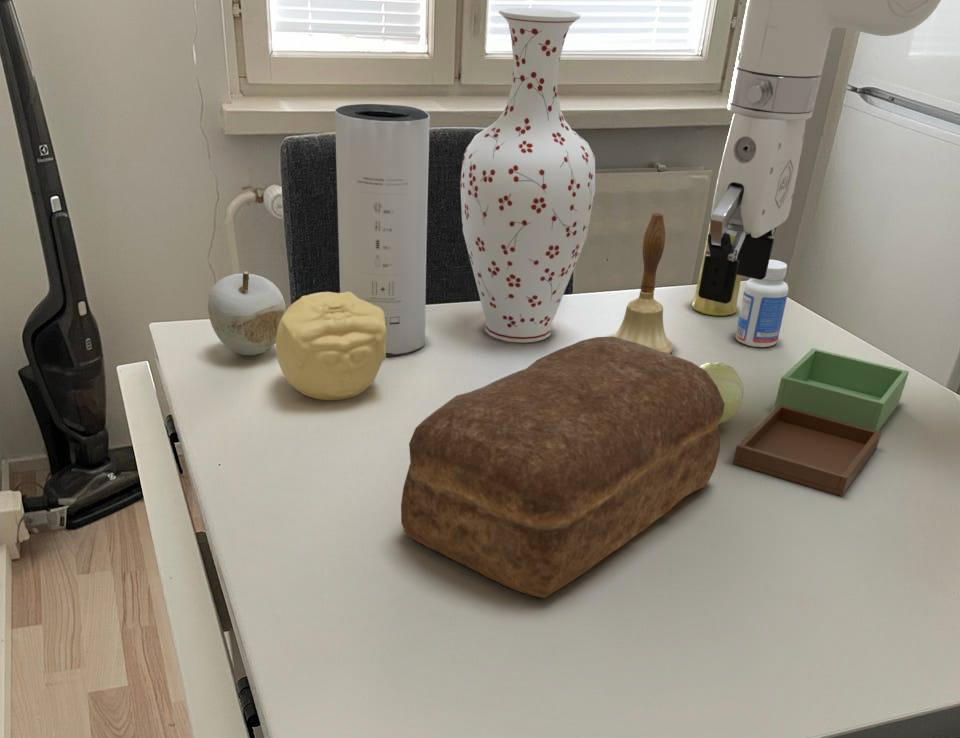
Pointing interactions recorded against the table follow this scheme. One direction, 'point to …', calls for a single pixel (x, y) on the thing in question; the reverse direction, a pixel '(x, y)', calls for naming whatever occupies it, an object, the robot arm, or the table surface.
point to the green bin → (842, 388)
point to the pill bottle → (763, 307)
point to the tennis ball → (726, 387)
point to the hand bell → (648, 295)
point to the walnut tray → (807, 449)
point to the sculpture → (331, 345)
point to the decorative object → (246, 312)
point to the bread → (561, 461)
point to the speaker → (384, 214)
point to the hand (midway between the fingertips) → (732, 287)
